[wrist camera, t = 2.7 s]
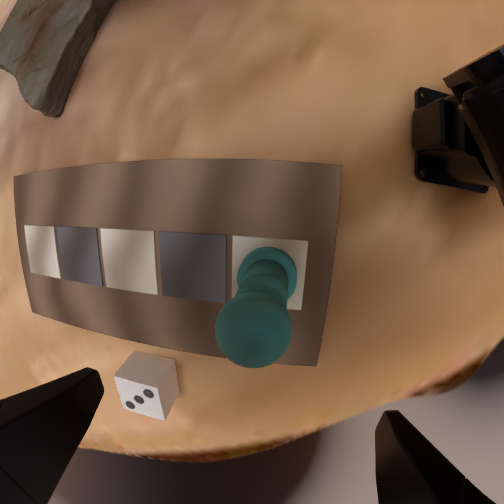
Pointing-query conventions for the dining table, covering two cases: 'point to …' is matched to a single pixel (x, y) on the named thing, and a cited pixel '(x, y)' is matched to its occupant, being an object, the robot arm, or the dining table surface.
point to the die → (148, 384)
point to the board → (175, 245)
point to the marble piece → (49, 47)
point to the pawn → (258, 310)
